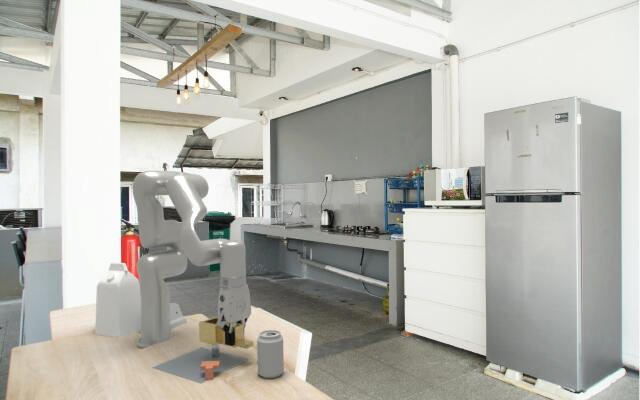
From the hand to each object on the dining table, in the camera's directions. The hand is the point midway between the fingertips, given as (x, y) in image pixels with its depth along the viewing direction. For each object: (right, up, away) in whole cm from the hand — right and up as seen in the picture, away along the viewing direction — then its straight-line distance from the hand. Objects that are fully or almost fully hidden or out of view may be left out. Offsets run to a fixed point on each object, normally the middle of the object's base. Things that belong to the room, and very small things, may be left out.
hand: (234, 342), depth 132 cm
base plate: (-10, -7, -1) cm, 12 cm away
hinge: (-35, -7, +39) cm, 53 cm away
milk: (-50, -7, +35) cm, 62 cm away
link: (-2, -1, +1) cm, 3 cm away
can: (+11, -7, -6) cm, 15 cm away
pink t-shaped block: (-5, -7, -9) cm, 13 cm away
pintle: (-7, -7, +5) cm, 11 cm away
